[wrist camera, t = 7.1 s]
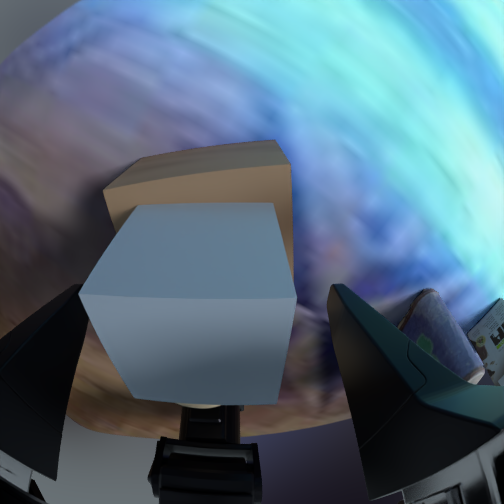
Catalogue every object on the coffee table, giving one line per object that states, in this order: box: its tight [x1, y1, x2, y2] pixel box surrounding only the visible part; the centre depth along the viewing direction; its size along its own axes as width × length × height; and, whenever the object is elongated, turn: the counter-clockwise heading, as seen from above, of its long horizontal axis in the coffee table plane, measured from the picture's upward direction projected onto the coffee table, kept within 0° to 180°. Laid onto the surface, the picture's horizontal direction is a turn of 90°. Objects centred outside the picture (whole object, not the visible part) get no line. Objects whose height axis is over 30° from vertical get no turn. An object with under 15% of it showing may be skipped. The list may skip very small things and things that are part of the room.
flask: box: [397, 289, 485, 384], centre depth 17 cm, size 9×3×11 cm, turn 170°
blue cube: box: [78, 203, 297, 405], centre depth 9 cm, size 5×5×5 cm
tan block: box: [103, 140, 293, 280], centre depth 13 cm, size 7×7×5 cm
